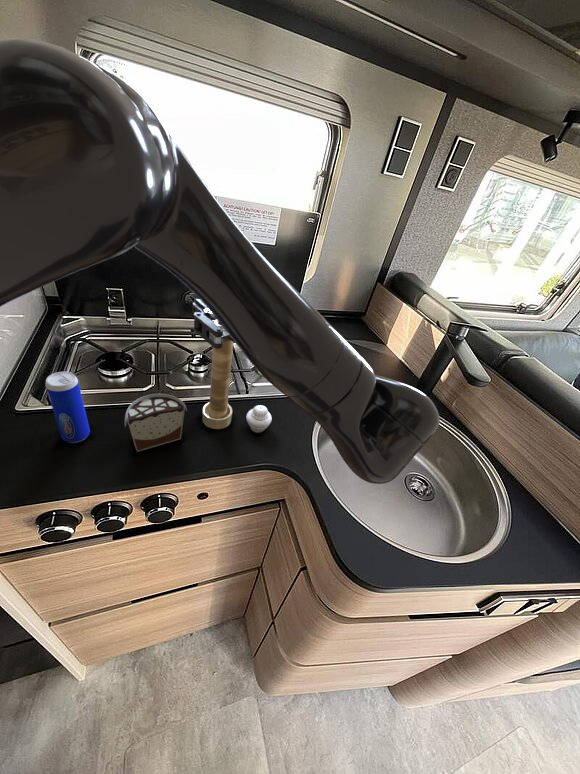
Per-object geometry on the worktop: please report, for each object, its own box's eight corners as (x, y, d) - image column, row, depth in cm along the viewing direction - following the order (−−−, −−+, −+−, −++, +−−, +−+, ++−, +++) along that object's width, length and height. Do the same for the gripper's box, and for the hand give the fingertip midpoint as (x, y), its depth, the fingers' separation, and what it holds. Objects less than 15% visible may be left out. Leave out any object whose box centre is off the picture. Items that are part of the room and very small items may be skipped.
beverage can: (55, 438, 69) (36, 380, 60) (77, 423, 73) (62, 367, 64) (75, 448, 68) (58, 390, 59) (96, 432, 72) (83, 376, 63)
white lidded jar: (274, 432, 82) (279, 411, 78) (253, 440, 79) (256, 418, 75) (261, 416, 86) (264, 396, 82) (240, 423, 82) (243, 402, 78)
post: (214, 426, 80) (221, 329, 64) (205, 415, 82) (210, 319, 67) (229, 420, 82) (239, 325, 67) (220, 410, 84) (228, 316, 69)
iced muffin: (178, 420, 80) (177, 387, 74) (187, 437, 76) (187, 403, 70) (122, 434, 73) (116, 399, 67) (129, 454, 69) (123, 419, 63)
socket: (211, 433, 78) (211, 423, 77) (197, 415, 82) (197, 406, 80) (236, 423, 82) (237, 414, 81) (221, 406, 86) (222, 397, 85)
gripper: (330, 318, 45) (261, 274, 54) (242, 337, 37) (177, 281, 45) (317, 364, 49) (255, 317, 58) (236, 390, 41) (177, 330, 50)
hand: (221, 301), depth 52 cm, fingers open, 8 cm apart
